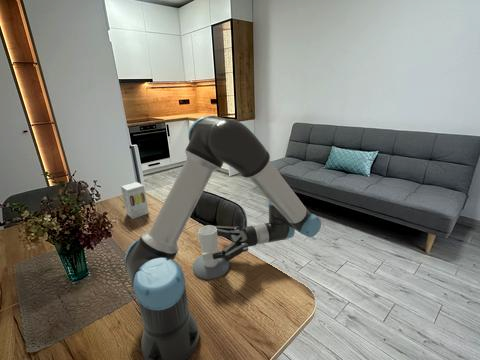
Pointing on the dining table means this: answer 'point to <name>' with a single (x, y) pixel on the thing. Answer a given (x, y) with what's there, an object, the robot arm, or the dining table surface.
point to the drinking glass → (209, 243)
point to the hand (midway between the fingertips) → (200, 246)
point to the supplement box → (135, 200)
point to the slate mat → (210, 269)
